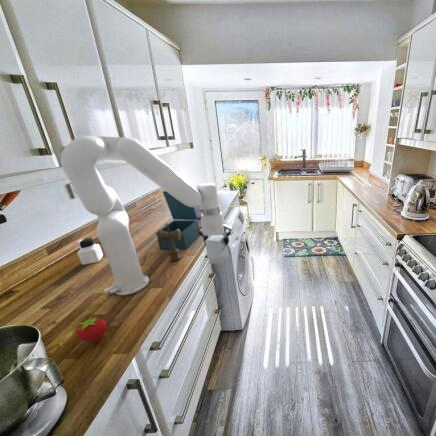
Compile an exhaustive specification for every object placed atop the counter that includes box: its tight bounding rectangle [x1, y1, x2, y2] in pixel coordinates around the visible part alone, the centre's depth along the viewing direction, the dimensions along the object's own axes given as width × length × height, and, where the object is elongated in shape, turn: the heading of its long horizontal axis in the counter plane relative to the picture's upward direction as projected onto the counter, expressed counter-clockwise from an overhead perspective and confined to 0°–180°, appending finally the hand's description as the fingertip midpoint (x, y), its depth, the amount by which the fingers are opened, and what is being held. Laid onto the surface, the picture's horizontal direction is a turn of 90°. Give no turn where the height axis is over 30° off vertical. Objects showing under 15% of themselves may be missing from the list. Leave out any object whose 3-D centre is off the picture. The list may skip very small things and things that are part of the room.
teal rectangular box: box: [155, 219, 201, 250], centre depth 137 cm, size 18×15×10 cm
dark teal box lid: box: [162, 190, 199, 221], centre depth 140 cm, size 19×15×5 cm
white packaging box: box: [204, 235, 230, 266], centre depth 115 cm, size 7×7×13 cm
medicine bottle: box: [76, 237, 104, 266], centre depth 120 cm, size 7×7×12 cm
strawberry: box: [75, 316, 108, 344], centre depth 73 cm, size 6×8×10 cm
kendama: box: [156, 222, 182, 262], centre depth 116 cm, size 6×10×20 cm, turn 94°
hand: (217, 244), depth 114 cm, fingers open, 9 cm apart
